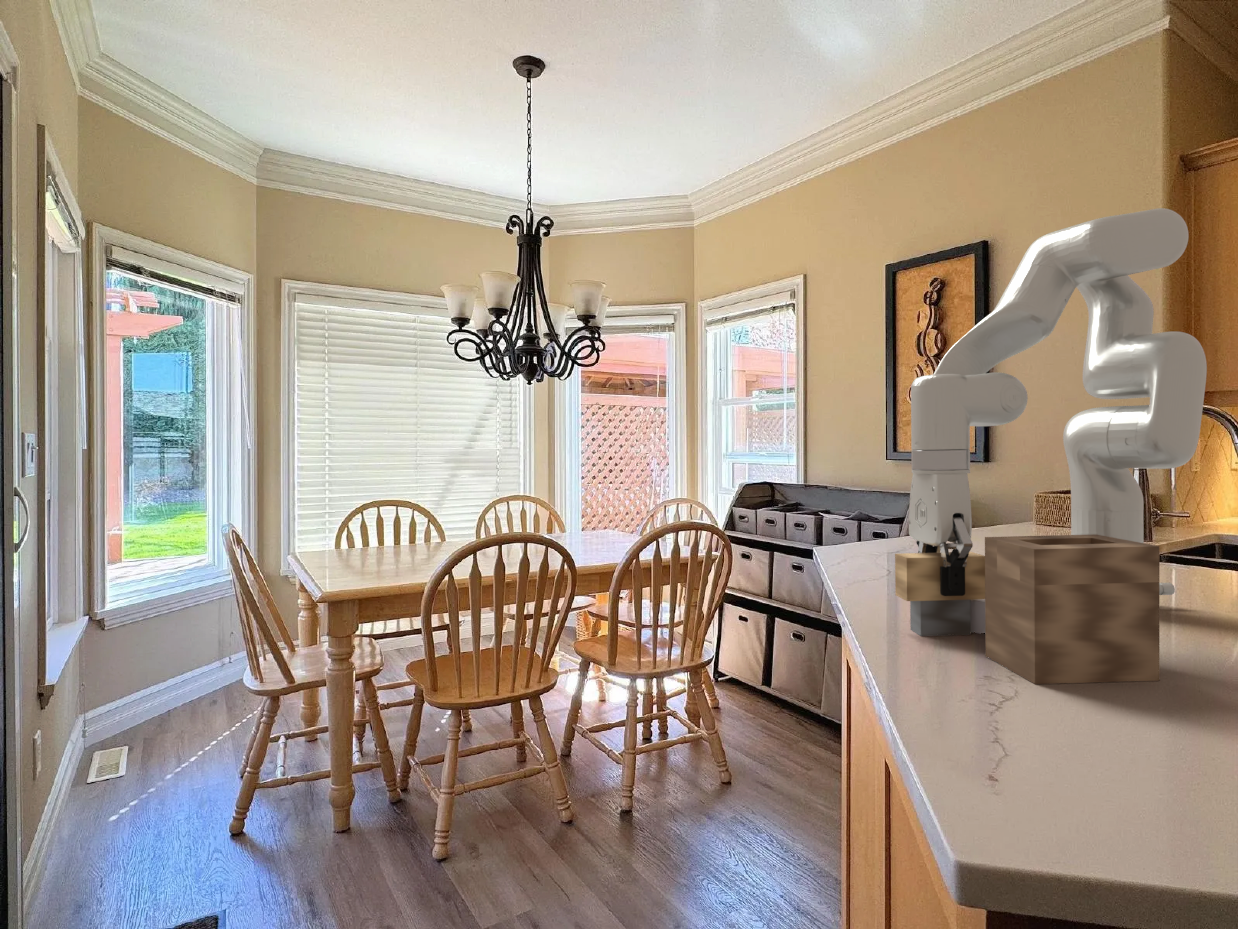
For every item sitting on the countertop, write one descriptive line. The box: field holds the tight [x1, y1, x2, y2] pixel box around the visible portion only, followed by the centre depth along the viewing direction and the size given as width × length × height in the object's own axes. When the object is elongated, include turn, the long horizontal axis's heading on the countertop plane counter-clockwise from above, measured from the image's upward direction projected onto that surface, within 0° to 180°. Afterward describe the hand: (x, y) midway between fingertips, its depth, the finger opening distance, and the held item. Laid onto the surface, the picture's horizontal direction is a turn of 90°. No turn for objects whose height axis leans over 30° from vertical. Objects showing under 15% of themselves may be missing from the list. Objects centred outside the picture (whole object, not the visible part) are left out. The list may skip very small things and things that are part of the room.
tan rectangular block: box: [894, 551, 985, 637], centre depth 102 cm, size 11×4×11 cm, turn 91°
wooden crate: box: [984, 534, 1160, 685], centre depth 85 cm, size 14×10×15 cm
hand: (941, 589), depth 102 cm, fingers open, 5 cm apart
